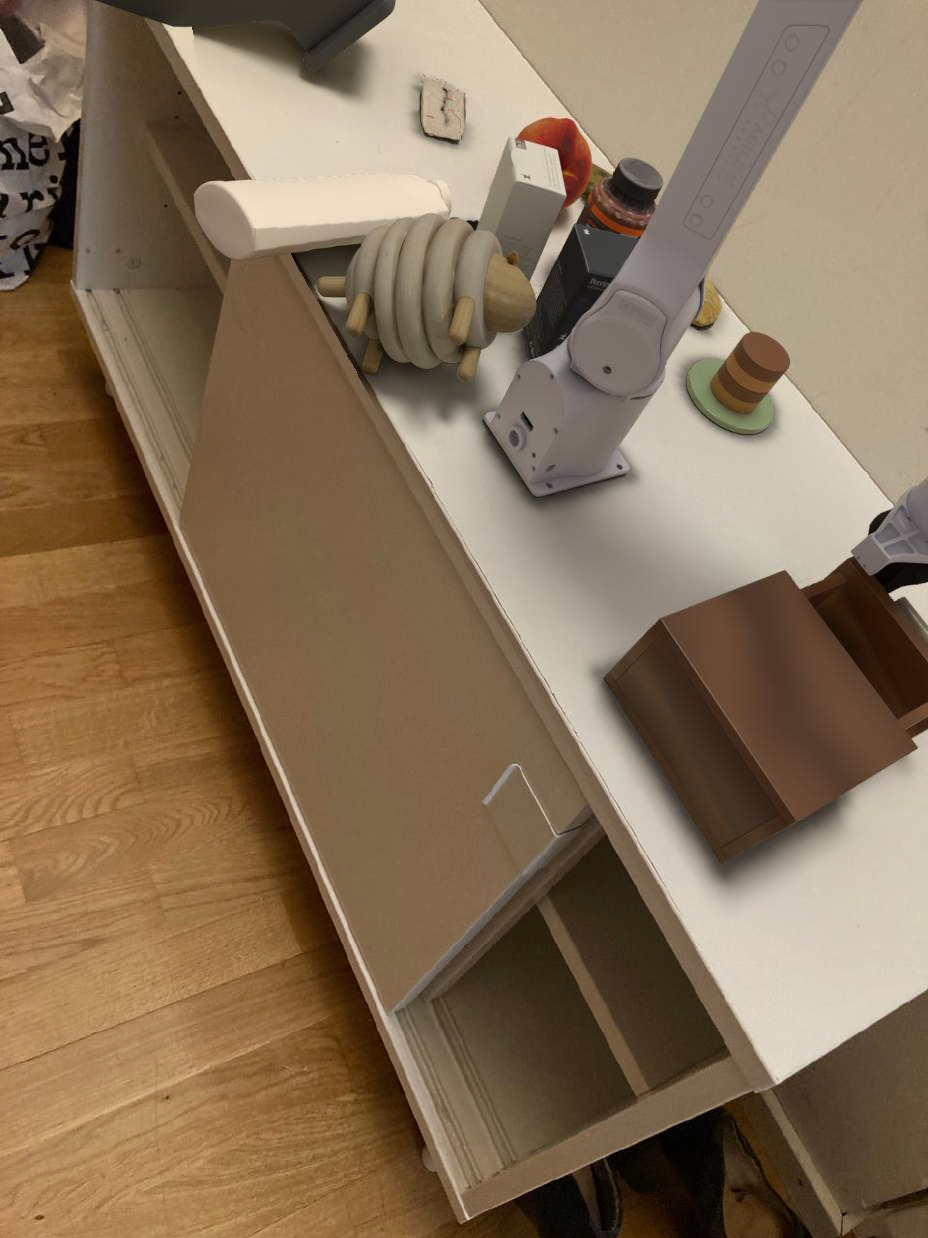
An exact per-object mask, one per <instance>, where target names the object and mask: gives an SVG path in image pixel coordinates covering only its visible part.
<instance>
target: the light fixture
mask: <svg viewBox="0 0 928 1238" xmlns="http://www.w3.org/2000/svg"><path fill="white" fill-rule="evenodd" d="M94 1H95V2H98V3H101V4H104V5H107V6H111V7H113V8H116V9H119V10H122V11H125V12H128V13H130V14H134V15H137V16H140V17H143V18H146V19H148V20H151V21H154V22H157V23H160V24H163V25H166V26H169V27H172V28H203V27H204V28H206V27H221V26H233V25H239V24H248V23H253V22H278V23H280V24H282V25H284V26H285V27H286V28H287V29H288V30H289V31H290V33H291V34H292V35H293V37H294V38H295V39H296V40H297V41H298V43H299V44H300V45H301V47H302V48H303V50H305V51H304V55H303V61H302V64H303V65H304V66H305V68H306V70H307V71H308V72H309V73H310V74H315V73H316V72H318V71H319V70H320V69H322V68H323V67H325V66H326V65H327V64H328V63H330V62H331V61H332V60H333V59H335V58H336V57H337V56H339V55H340V54H342V53H343V52H344V51H346V49H348V48H349V47H351V46H352V45H353V44H354V43H355V42H357V41H358V40H360V39H361V38H362V37H363V36H365V35H366V34H368V33H370V31H372V30H373V29H374V28H375V27H377V26H378V25H380V24H381V23H382V22H383V21H385V20H387V18H388V17H389V16H391V14H392V13H393V12H394V10H395V8H396V1H397V0H94Z"/></svg>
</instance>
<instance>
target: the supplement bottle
mask: <svg viewBox="0 0 928 1238" xmlns="http://www.w3.org/2000/svg"><path fill="white" fill-rule="evenodd" d="M612 175H613V177H607V178H604V179H602V180H600V181H599V182H598V183H597V184H596V185H595V187H594V188H593V190H592V191H591V193H590V196H589V198H587V199H586V202H585V204H584V206H583V208H582V210H581V212H580V214H579V215H578V218H577V220H576V222H575V223H577V224H581V225H585V226H587V227H591V228H595V229H599V230H603V231H608V232H612V233H616V234H621V235H625V236H630V237H634V238H639V239H640V238H641V236H642V235H643V233H644V231H645V229H646V227H647V225H648V223H649V221H650V219H651V217H652V215H653V213H654V211H655V209H656V207H657V205H658V204H657V203H656V200H657V198H658V196H659V194H660V192H661V190H662V188H663V186H664V178H663V176H662V175H661V173H660V171H658V170H657V169H656V168H655V167H654V166H653V165H651V164H650V163H648V162H646V161H645V160H642V159H639V158H637V157H636V158H635V157H630V156H629V157H627V156H626V157H624V158H621V159H620V161H619V162H618V163H617V165H616V167H615V169H614V171H612Z"/></svg>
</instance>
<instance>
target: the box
mask: <svg viewBox="0 0 928 1238" xmlns="http://www.w3.org/2000/svg"><path fill="white" fill-rule="evenodd" d="M639 240H640V239H639V238H634V237H630V236H625V235H621V234H616V233H612V232H608V231H603V230H599V229H595V228H591V227H587V226H585V225H581V224H577V223H576V222H575V223H574V224H573V225H572V228H571V230H570V232H569V234H568V236H567V238H566V240H565V242H564V244H563V246H562V248H561V250H560V251H559V254H558V256H557V258H556V260H555V262H554V264H553V266H552V268H551V270H550V271H549V274H548V276H547V278H546V280H545V282H544V283H543V285H542V288H541V289H540V291H539V293H538V295H537V297H536V312H535V315H534V317H533V318H532V320H531V321H530V322H529V324H527V325H526V326H525V327H524V328H522V333H523V338H524V343H525V348H526V352H527V356H528V361H529V360H531V359H535V358H538V357H541V356H543V355H545V354H547V353H549V352H551V351H553V350H554V349H555V348H557V347H558V346H559V345H560V344H562V343H563V342H564V340H565V339H566V338H567V337H568V336H569V335H570V334H571V331H572V330H573V328H574V327H575V325H576V324H577V322H578V321H579V319H580V318H581V317H582V315H583V314H585V313H586V312H587V311H588V310H590V309H591V307H592V306H593V305H594V303H595V302H596V301H597V300H598V298H599V297H600V296H601V295H602V293H603V292H604V291H605V289H606V288H607V287H608V286H609V284H610V283H611V282H612V281H613V279H614V278H615V277H616V276H617V274H618V272H619V270H620V269H621V267H622V265H623V264H624V262H625V261H626V260H627V259H628V257H629V256H630V254H631V252H632V251H633V249H634V248H635V246H636V244H637V243H638V241H639Z"/></svg>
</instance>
